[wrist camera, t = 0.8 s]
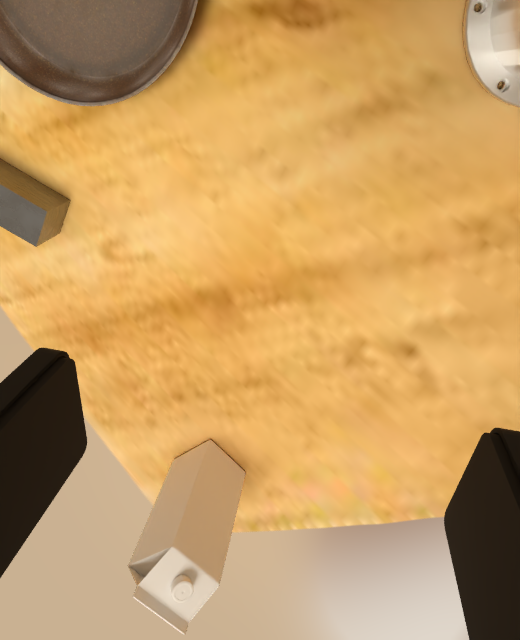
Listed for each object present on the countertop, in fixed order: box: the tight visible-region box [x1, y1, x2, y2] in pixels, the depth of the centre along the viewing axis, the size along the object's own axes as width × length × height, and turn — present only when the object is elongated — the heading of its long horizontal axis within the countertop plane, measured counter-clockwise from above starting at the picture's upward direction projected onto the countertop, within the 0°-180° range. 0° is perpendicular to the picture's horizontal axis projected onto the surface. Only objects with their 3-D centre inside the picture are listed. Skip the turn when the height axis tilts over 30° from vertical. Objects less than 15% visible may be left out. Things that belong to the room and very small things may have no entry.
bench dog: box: [0, 159, 70, 247], centre depth 42 cm, size 4×10×4 cm, turn 59°
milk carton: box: [128, 440, 246, 635], centre depth 51 cm, size 7×7×19 cm
